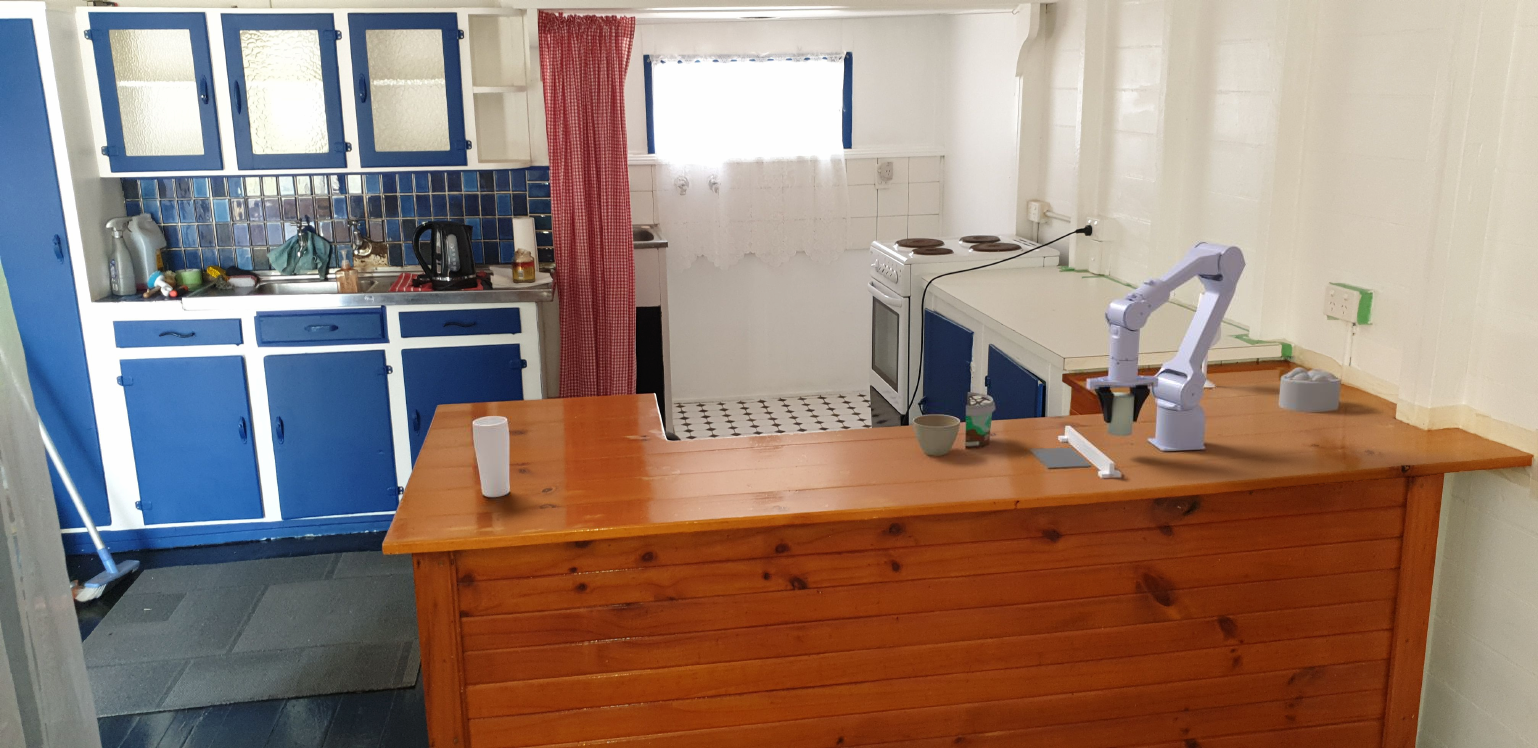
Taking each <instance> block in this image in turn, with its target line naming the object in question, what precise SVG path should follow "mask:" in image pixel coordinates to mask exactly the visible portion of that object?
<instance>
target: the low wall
mask: <svg viewBox="0 0 1538 748" xmlns="http://www.w3.org/2000/svg"><path fill="white" fill-rule="evenodd" d="M1057 439H1058V441H1059V442H1061V443H1068V444H1069V445H1071V446H1072V447H1074V448H1073V449H1076V450H1077V451H1078V452H1079V453H1080V454H1082V456H1083V457H1085V458H1086V459H1087V460H1088V461H1089V462H1090V463H1091V464H1092V465H1094V467H1096V468H1097V469H1098V471H1097V475H1098V477H1100V478H1101V479H1110V478H1111V479H1112V478H1122V472H1120V471H1119V470H1118V469H1115V465H1116V464H1115V462H1113V460H1112V459H1110V458H1109V457H1108V456H1107V455H1106V454H1104V453H1103V452H1102V451H1101V450H1099V448H1097V447H1096V446H1094V444H1092V443H1091V442H1090V441H1089V440H1087V439H1086V438H1085V437H1084V436H1083V435H1082V434H1080V433H1079V432H1078V431H1077V430H1075V429H1074V428H1073V427H1072V426H1071V425H1065V426H1064V435H1058V436H1057Z"/></svg>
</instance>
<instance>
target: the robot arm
mask: <svg viewBox="0 0 1538 748" xmlns="http://www.w3.org/2000/svg"><path fill="white" fill-rule="evenodd" d="M1246 264H1247V263H1246V261H1245V258H1244V253H1243V251H1242V250H1241V248H1240V247H1238V246H1236V245H1221V244H1218V243H1217V244H1215V243H1209V242H1205V241H1199V242H1197V243H1195V244H1194V245H1193V246H1192V247H1190V248H1188V249H1187V251H1186V254H1185V256H1184V257H1183V258H1182V259H1181V260H1180V261H1179V262H1177V264H1175V265H1174V266H1173V267H1172V268H1170V269H1169V270H1168V271H1167V272H1166V273H1164V274H1163V275H1162V276H1161V277H1160V278H1155V277H1154V278H1153V277H1152V278H1146V279H1145V280H1144V281H1143V284H1141V285H1140V286H1138V287H1137V288H1136V289H1135V290H1133V291H1132V292H1129V293H1127V294H1126V296H1125V297H1124V298H1116V299H1115V300H1113V301H1112V302H1111V303H1109V305H1108V306H1107V308H1106V309H1107V310H1106V312H1104V319H1105V321H1106V323H1107V324H1108V332H1109V335H1110V336H1109V338H1110V339H1109V354H1108V355H1109V357H1108V372H1107V373H1108V375H1107V376H1106V375H1105V376H1100V377H1094V378H1093V377H1092V378H1086V389H1087V390H1089V391H1094V392H1095V394H1096V396H1097V398H1098V399H1097V400H1098V401H1099V404H1100V406H1101V407H1100V408H1101V411H1102V416H1103V422H1105V423H1107V424H1108V423H1111V409H1112V402H1113V398H1114V394H1113V393H1114V392H1112V389H1122V388H1129V393H1130V394H1133V395H1134V411H1133V423H1137V422H1138V418H1139V415H1140V413H1141V409H1142V408H1143V406H1144V403H1145V401H1146V400H1147V398H1148V397H1149V396H1150V393H1151V395H1152V397H1153V398H1154V399H1155V400H1154V401H1155V404H1157V407H1156V408H1157V409H1156V420H1155V421H1156V422H1155V437H1152V438H1151V437H1150V438H1149V437H1148V438H1147V441H1148V442H1150V443H1151V444H1152V445H1153V446H1155V447H1156V448H1157V449H1159V450H1160V451H1161V452H1173V451H1174V452H1175V451H1194V450H1195V451H1197V450H1200V451H1201V450H1205V449H1206V446H1204V445H1205V433H1206V432H1205V431H1206V414H1205V410H1204V409H1203V407H1202V406H1201V405H1200V402H1201V400H1202V398H1203V396H1204V389H1203V388H1204V384H1205V382H1206V379H1207V376H1206V377H1205V375H1204V374H1203V372H1202V363H1203V361H1204V359H1205V356H1206V354H1207V352H1208V353H1209V350H1210V349H1211V348H1210V346H1211V343H1212V341H1213V339H1214V337H1215V335H1216V332H1217V330H1218V328H1219V326H1220V324H1221V325H1222V322H1223V319H1224V317H1225V315H1226V313H1227V311H1228V308H1229V306H1230V304H1231V301H1232V299H1233V297H1234V295H1235V293H1236V288H1237V285H1238V283H1239V280H1240V279H1241V275H1242V274H1243V272H1244V269H1245V267H1246ZM1194 277H1197V279H1198V280H1199V282H1200V283H1201V284H1202V285H1203V287H1204V290H1205V291H1204V292H1205V294H1204V296H1203V298H1202V300H1201V303H1200V305H1199V307H1198V306H1197V308H1198V309H1197V308H1196V309H1197V310H1195V311H1196V312H1195V314H1194V316H1193V318H1192V319H1191V320H1192V321H1191V322H1190V325H1189V327H1188V329H1187V331H1186V333H1185V335H1184V338H1183V340H1182V342H1181V343H1180V346H1179V349H1178V351H1177V352H1176V355H1175V357H1173V358H1172V359H1170V360H1168V361H1166V362H1164V363H1163V364H1162V365H1161V368H1160V369H1159V371H1158V372H1157V373H1156V374H1155V375H1138V370H1139V354H1140V334H1141V329H1143V328H1144V326H1145V325H1146V323H1147V320H1148V318H1149V317H1150V316H1151V314H1152V313H1153V312H1155V311H1156V310H1158V309H1159V308H1161V307H1162V306H1163V305H1165V304H1166V303H1167V302H1169V300H1170V298H1171V293H1172V291H1175V290H1176V289H1177V288H1179V287H1181V286H1182V285H1184V284H1186V283H1187V282H1189V281H1190V280H1192V279H1193V278H1194ZM1209 348H1210V349H1209Z"/></svg>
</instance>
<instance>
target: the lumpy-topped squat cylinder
mask: <svg viewBox="0 0 1538 748" xmlns="http://www.w3.org/2000/svg"><path fill="white" fill-rule="evenodd" d="M1279 384H1280V385H1279V397H1278V405H1279V406H1280V407H1281V409H1282V408H1284V409H1283V410H1286V409H1289V410H1288V411H1291V410H1292V412H1300V411H1302V412H1303V413H1323V412H1332V411H1337V410H1338V409H1339V403H1340V395H1341V384H1342V379H1341V378H1340V377H1337V376H1335V375H1334V373H1332V372H1329V371H1325V370H1323V369H1320V368H1314V369H1311V370H1308V371H1307V370H1306V368H1305V367H1300V366H1299V367H1295V368H1294V369H1292V370H1291V371H1288V372H1287V373H1284V374H1283V375H1282V376H1281V377H1280V383H1279ZM1279 406H1278V407H1279ZM1280 407H1279V408H1280Z"/></svg>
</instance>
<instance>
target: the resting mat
mask: <svg viewBox="0 0 1538 748" xmlns="http://www.w3.org/2000/svg"><path fill="white" fill-rule="evenodd" d="M1029 450H1030V451H1029V452H1030V453H1032V454H1033V455H1034V456H1035V457H1036V458H1037V459H1038V461H1040V463H1042V464H1043V466H1045V467H1046V468H1047V469H1048V470H1053V469H1072V468H1074V469H1075V468H1092V464H1090V463H1089V462H1088V461H1087V460H1086V459H1085V458H1084V457H1082V456H1081V455H1080V454H1079V453H1078V452H1077V451H1076V450H1075V449H1074V448H1072V447H1059V448H1058V447H1057V448H1056V447H1055V448H1035V449H1032V448H1031V449H1029Z"/></svg>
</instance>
